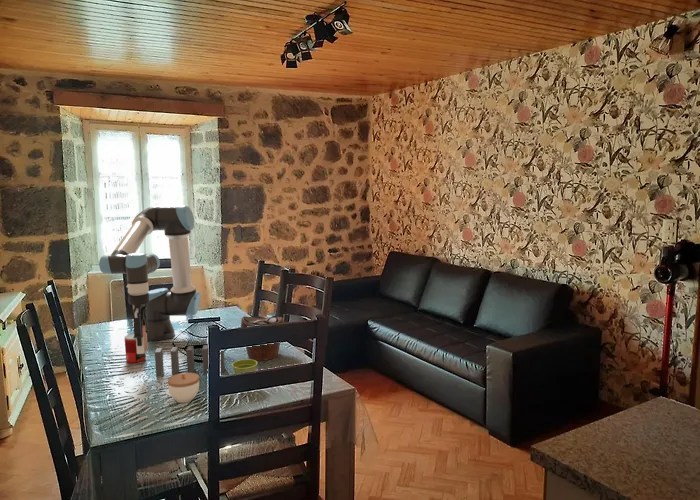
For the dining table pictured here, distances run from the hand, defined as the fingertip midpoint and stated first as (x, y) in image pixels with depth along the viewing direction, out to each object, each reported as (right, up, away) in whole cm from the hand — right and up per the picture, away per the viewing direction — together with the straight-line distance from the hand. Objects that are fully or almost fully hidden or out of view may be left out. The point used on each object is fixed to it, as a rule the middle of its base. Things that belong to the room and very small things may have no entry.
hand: (142, 350), depth 208 cm
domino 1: (0, 0, 0) cm, 0 cm away
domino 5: (+24, -9, +5) cm, 26 cm away
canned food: (-10, -8, +18) cm, 22 cm away
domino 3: (+12, -10, +4) cm, 16 cm away
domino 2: (+6, -10, +3) cm, 12 cm away
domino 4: (+18, -9, +5) cm, 21 cm away
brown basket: (+44, -7, +23) cm, 50 cm away
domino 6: (+30, -9, +6) cm, 32 cm away
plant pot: (+43, -11, -9) cm, 45 cm away
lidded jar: (+23, -13, -21) cm, 34 cm away
